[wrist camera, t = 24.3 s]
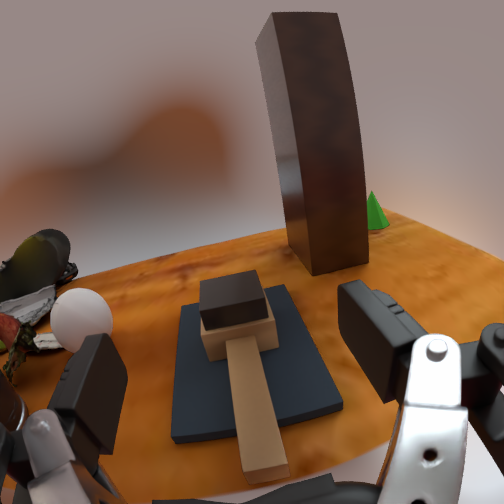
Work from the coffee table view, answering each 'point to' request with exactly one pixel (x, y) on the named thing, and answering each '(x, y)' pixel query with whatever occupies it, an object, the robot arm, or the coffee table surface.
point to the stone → (31, 305)
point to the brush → (245, 367)
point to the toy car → (68, 274)
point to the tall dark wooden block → (315, 138)
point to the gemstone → (375, 214)
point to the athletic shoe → (34, 264)
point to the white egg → (79, 317)
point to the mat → (275, 369)
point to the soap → (46, 341)
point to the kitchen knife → (2, 345)
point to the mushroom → (16, 341)
